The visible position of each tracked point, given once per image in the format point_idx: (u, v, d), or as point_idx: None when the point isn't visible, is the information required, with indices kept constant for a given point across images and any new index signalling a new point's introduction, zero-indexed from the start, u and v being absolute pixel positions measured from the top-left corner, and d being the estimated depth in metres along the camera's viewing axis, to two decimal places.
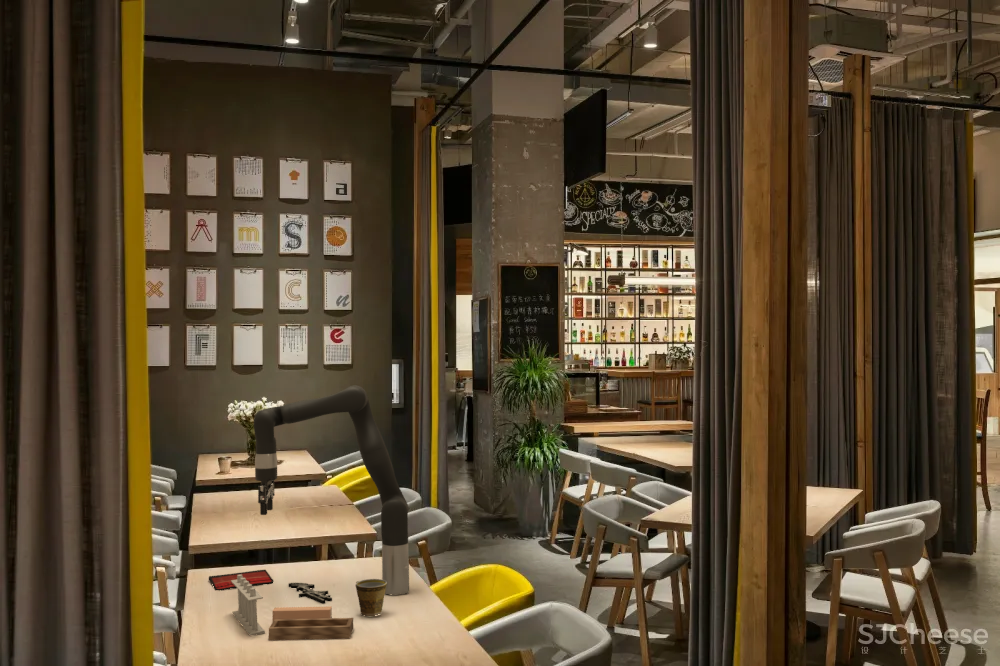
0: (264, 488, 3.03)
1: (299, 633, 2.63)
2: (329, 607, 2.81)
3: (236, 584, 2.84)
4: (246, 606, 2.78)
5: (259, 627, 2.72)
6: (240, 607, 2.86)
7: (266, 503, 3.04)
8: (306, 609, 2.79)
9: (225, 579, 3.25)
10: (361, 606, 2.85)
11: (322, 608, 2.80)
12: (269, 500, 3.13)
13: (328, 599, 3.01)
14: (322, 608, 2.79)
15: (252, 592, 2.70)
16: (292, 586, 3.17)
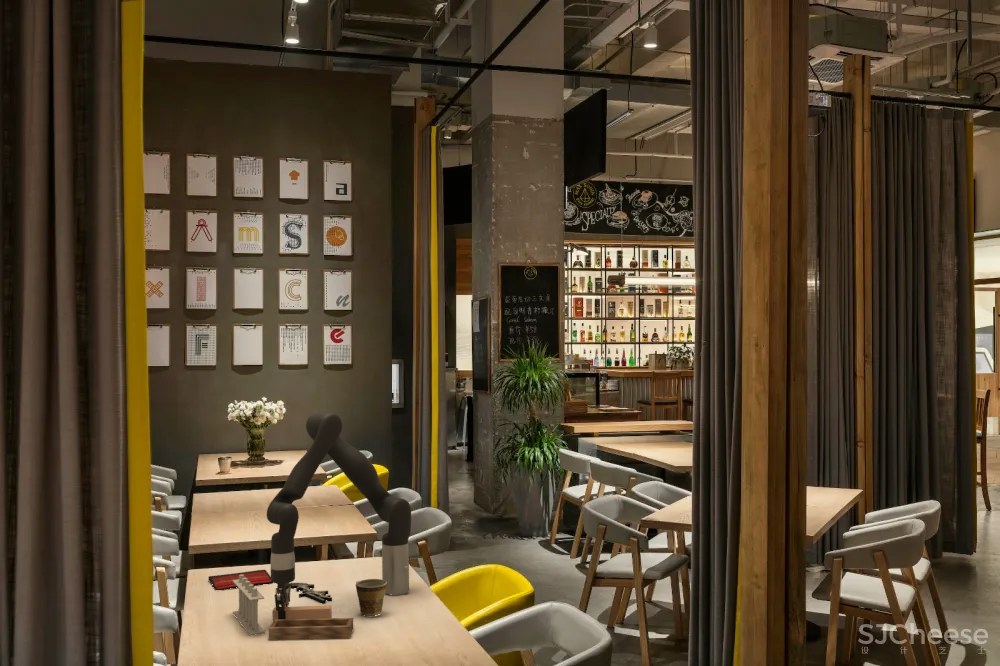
0: (281, 597, 2.73)
1: (299, 633, 2.63)
2: (329, 606, 2.81)
3: (237, 584, 2.84)
4: (247, 606, 2.78)
5: (259, 627, 2.72)
6: (240, 607, 2.86)
7: (284, 610, 2.77)
8: (306, 608, 2.79)
9: (225, 579, 3.25)
10: (361, 606, 2.85)
11: (322, 607, 2.80)
12: None
13: (328, 599, 3.01)
14: (322, 607, 2.80)
15: (254, 592, 2.70)
16: (292, 586, 3.17)
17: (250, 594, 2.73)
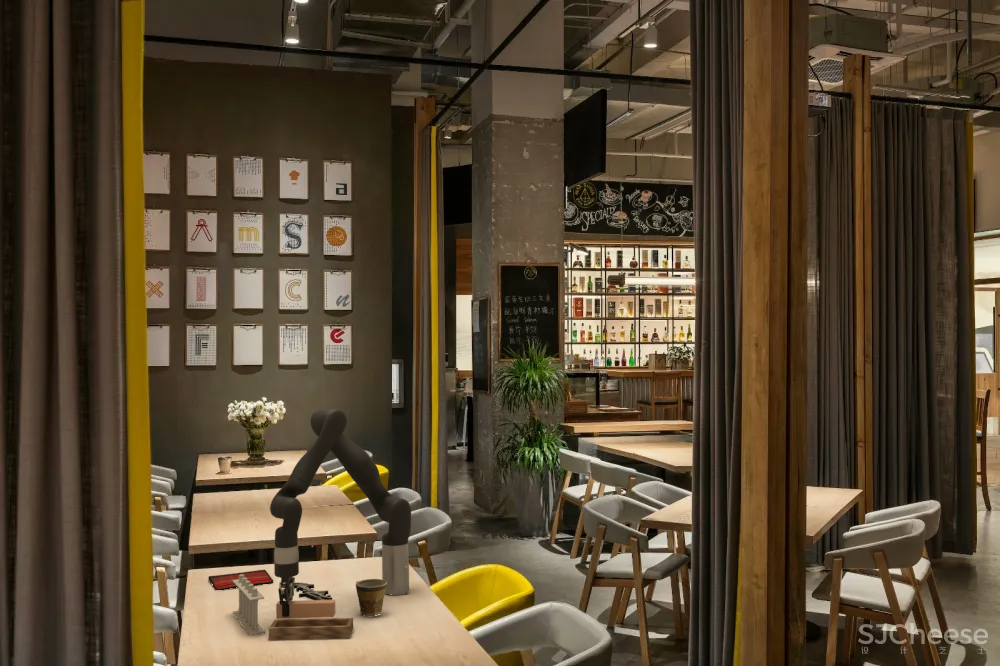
0: (285, 591, 2.73)
1: (299, 633, 2.63)
2: (333, 600, 2.81)
3: (237, 584, 2.84)
4: (247, 606, 2.78)
5: (259, 627, 2.72)
6: (240, 607, 2.86)
7: (288, 604, 2.77)
8: (310, 602, 2.79)
9: (225, 579, 3.25)
10: (361, 606, 2.85)
11: (326, 601, 2.80)
12: None
13: (328, 599, 3.01)
14: (325, 601, 2.80)
15: (254, 592, 2.70)
16: None
17: (250, 594, 2.73)
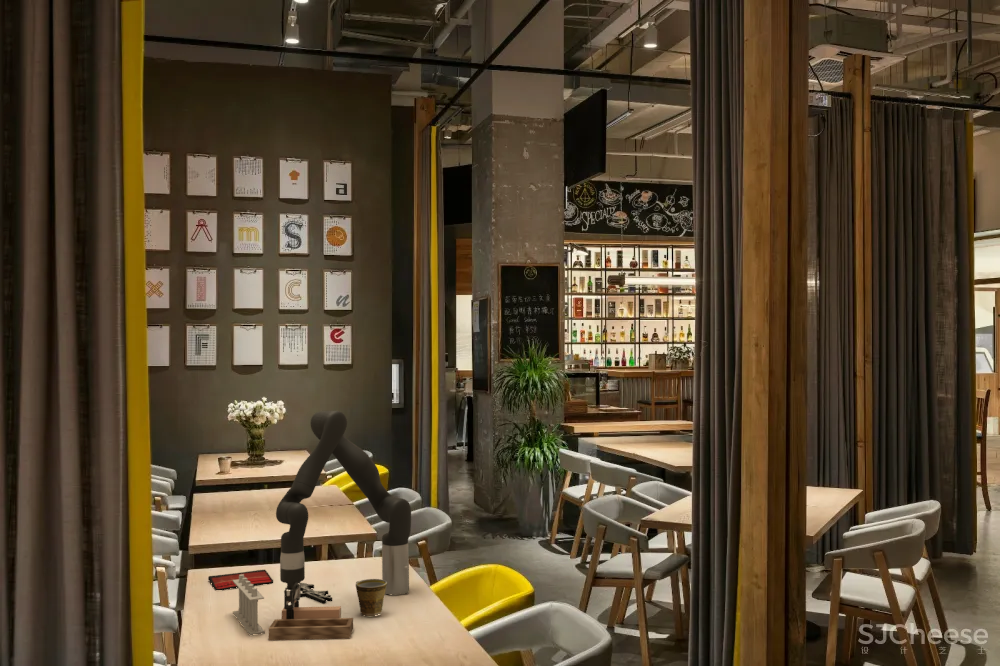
0: (291, 593, 2.73)
1: (299, 633, 2.63)
2: (338, 607, 2.81)
3: (238, 584, 2.84)
4: (247, 606, 2.78)
5: (259, 627, 2.72)
6: (240, 607, 2.86)
7: (293, 608, 2.74)
8: (315, 609, 2.79)
9: (225, 579, 3.25)
10: (361, 606, 2.85)
11: (331, 608, 2.80)
12: (295, 602, 2.83)
13: (328, 599, 3.01)
14: (331, 608, 2.79)
15: (254, 592, 2.70)
16: None
17: (250, 594, 2.73)
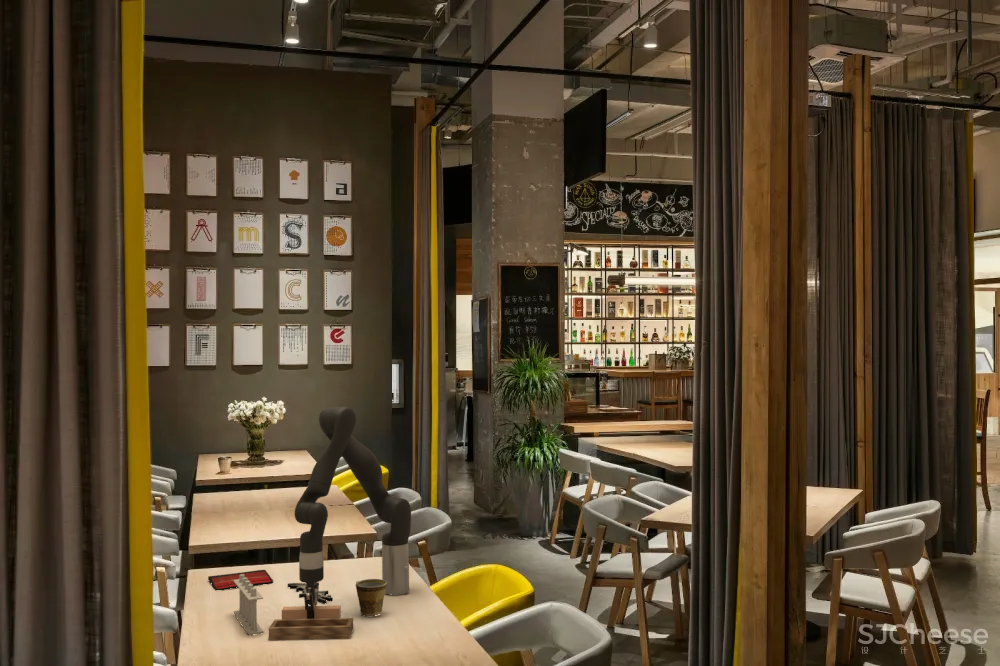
0: (311, 597, 2.73)
1: (299, 633, 2.63)
2: (338, 606, 2.81)
3: (238, 584, 2.84)
4: (246, 606, 2.78)
5: (258, 627, 2.72)
6: (241, 607, 2.86)
7: (313, 610, 2.77)
8: (315, 608, 2.79)
9: (225, 579, 3.25)
10: (361, 606, 2.85)
11: (331, 607, 2.80)
12: None
13: (329, 599, 3.01)
14: (331, 607, 2.80)
15: (253, 592, 2.70)
16: (291, 586, 3.17)
17: (249, 594, 2.73)
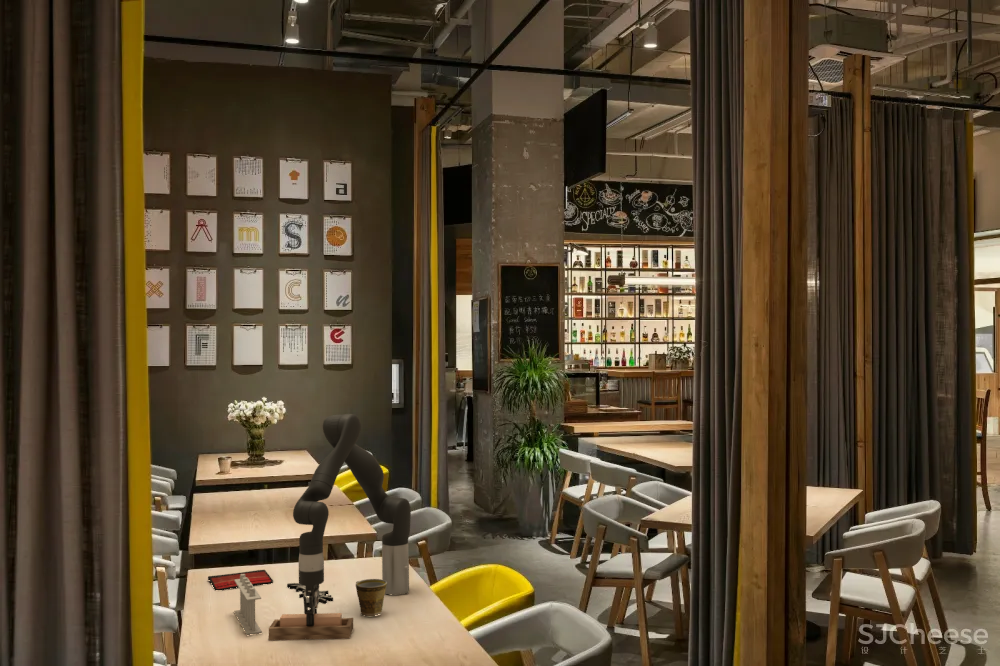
0: (310, 599, 2.61)
1: (299, 633, 2.63)
2: (339, 614, 2.69)
3: (238, 583, 2.85)
4: (246, 606, 2.78)
5: (257, 627, 2.72)
6: (241, 607, 2.86)
7: (313, 614, 2.65)
8: (315, 616, 2.67)
9: (224, 579, 3.25)
10: (361, 606, 2.85)
11: (332, 615, 2.68)
12: (313, 610, 2.70)
13: (329, 599, 3.01)
14: (331, 615, 2.68)
15: (251, 592, 2.70)
16: (291, 586, 3.17)
17: (248, 594, 2.73)
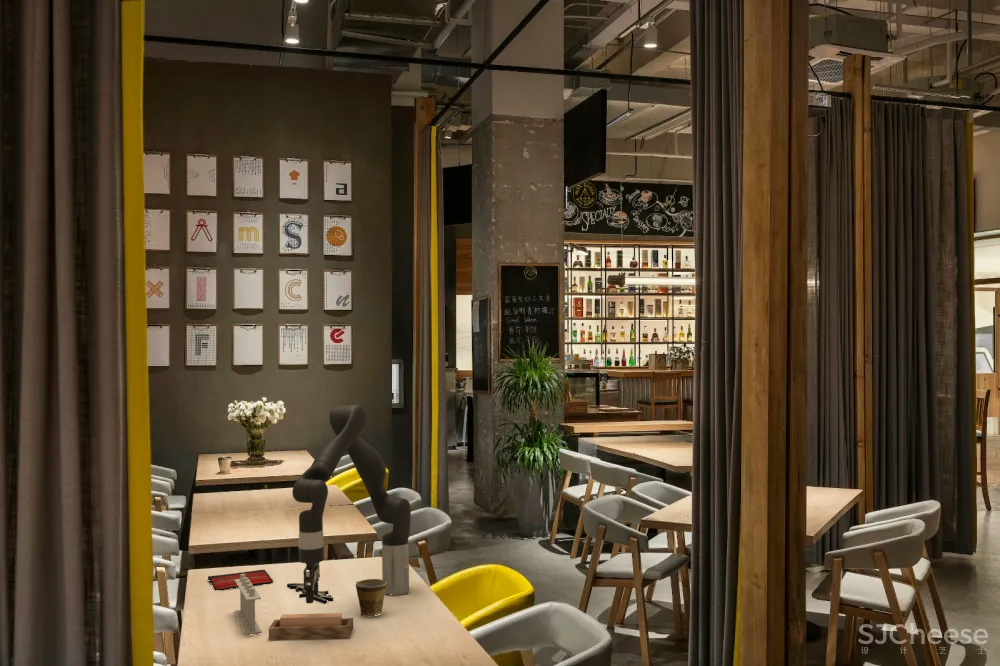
0: (310, 573, 2.61)
1: (299, 633, 2.63)
2: (339, 614, 2.69)
3: (238, 583, 2.85)
4: (246, 606, 2.79)
5: (257, 627, 2.72)
6: (242, 607, 2.87)
7: (312, 590, 2.63)
8: (315, 616, 2.67)
9: (224, 579, 3.25)
10: (361, 606, 2.85)
11: (332, 615, 2.68)
12: (314, 583, 2.72)
13: (329, 599, 3.01)
14: (331, 615, 2.68)
15: (251, 592, 2.70)
16: (291, 586, 3.17)
17: (248, 594, 2.73)
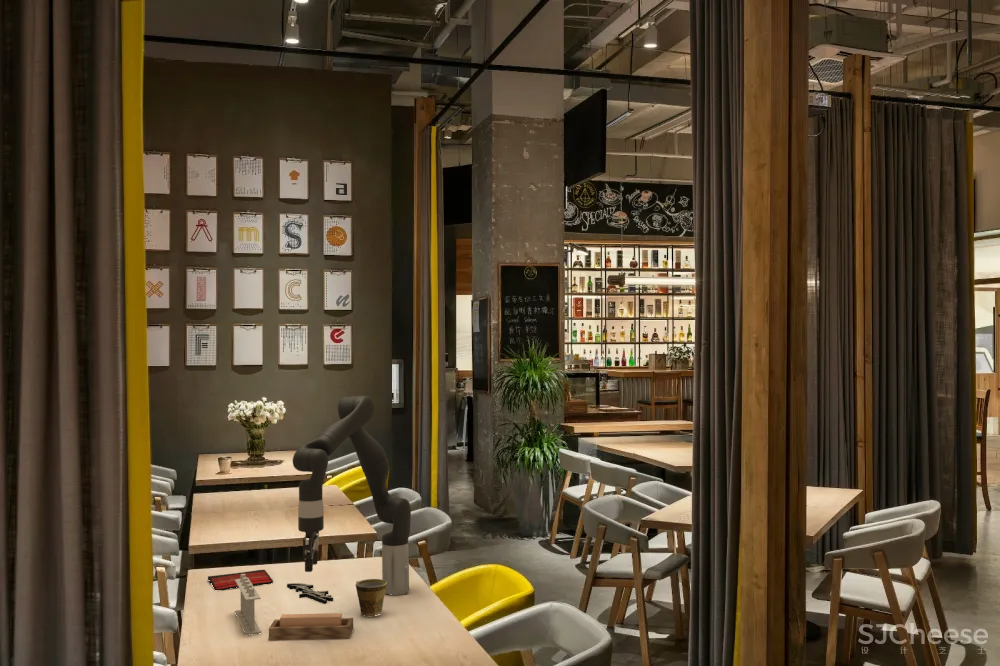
0: (310, 541, 2.61)
1: (299, 633, 2.63)
2: (339, 614, 2.69)
3: (238, 583, 2.85)
4: (246, 606, 2.79)
5: (256, 627, 2.72)
6: (242, 606, 2.87)
7: (312, 558, 2.63)
8: (315, 616, 2.67)
9: (224, 579, 3.25)
10: (361, 606, 2.85)
11: (332, 615, 2.68)
12: (313, 553, 2.72)
13: (329, 599, 3.01)
14: (331, 615, 2.68)
15: (250, 592, 2.70)
16: (291, 587, 3.16)
17: (248, 594, 2.73)
